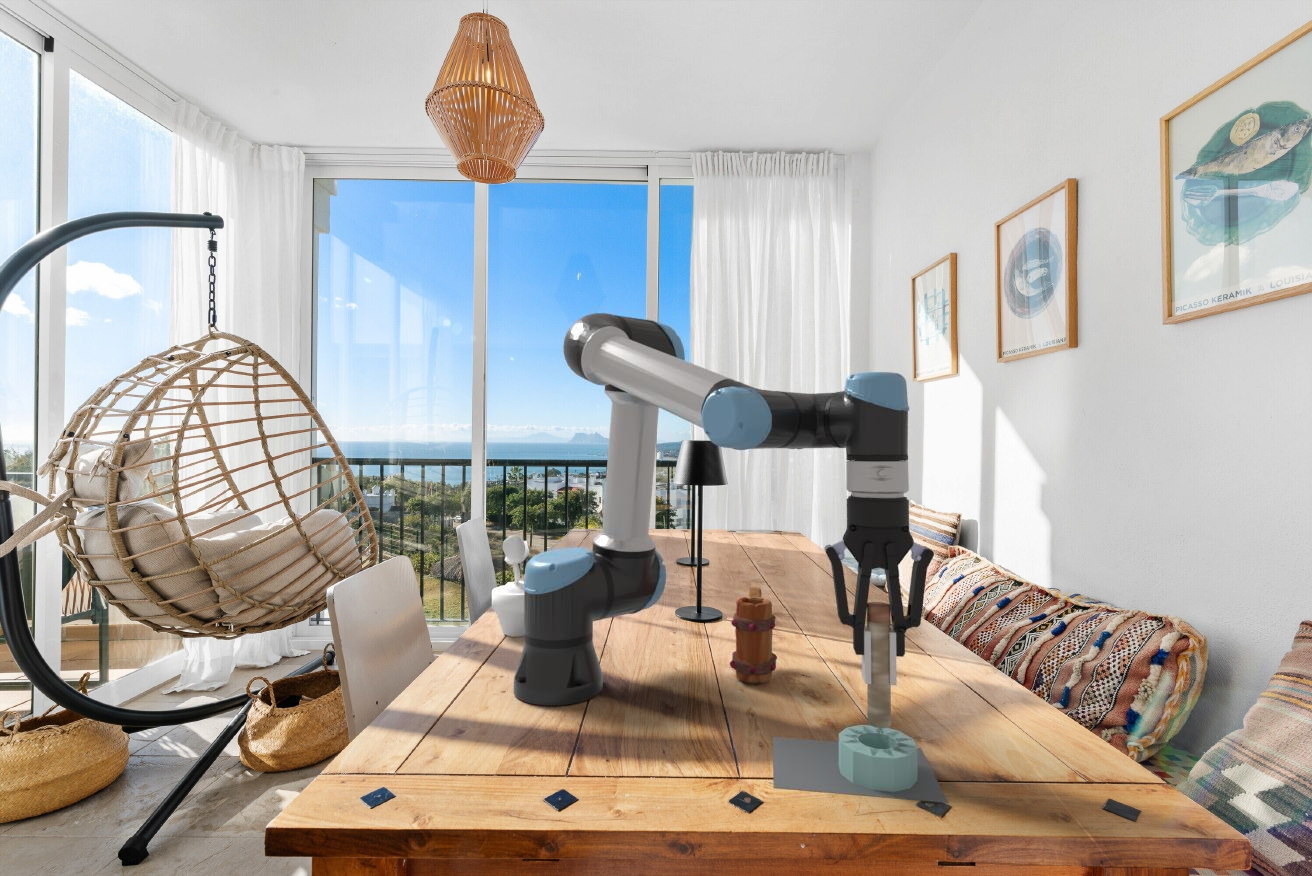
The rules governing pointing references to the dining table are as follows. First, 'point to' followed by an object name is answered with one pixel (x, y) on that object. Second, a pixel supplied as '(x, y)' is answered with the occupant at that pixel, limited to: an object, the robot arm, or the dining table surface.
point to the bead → (878, 758)
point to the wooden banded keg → (753, 638)
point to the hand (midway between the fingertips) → (878, 680)
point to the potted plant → (512, 589)
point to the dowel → (879, 665)
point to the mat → (838, 772)
